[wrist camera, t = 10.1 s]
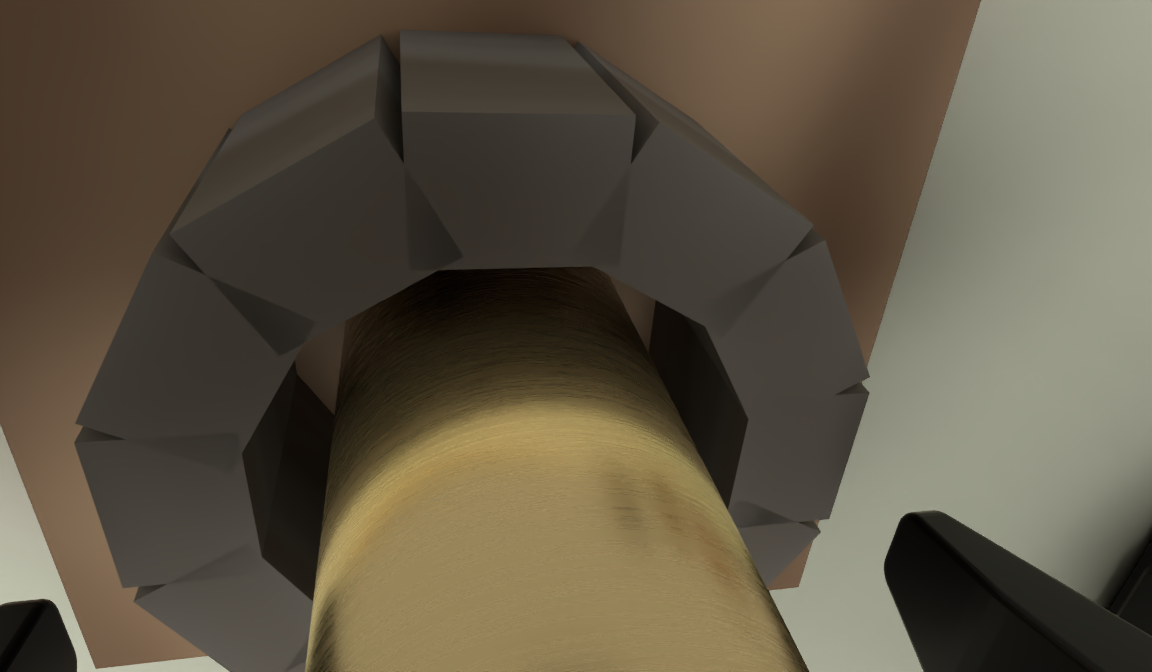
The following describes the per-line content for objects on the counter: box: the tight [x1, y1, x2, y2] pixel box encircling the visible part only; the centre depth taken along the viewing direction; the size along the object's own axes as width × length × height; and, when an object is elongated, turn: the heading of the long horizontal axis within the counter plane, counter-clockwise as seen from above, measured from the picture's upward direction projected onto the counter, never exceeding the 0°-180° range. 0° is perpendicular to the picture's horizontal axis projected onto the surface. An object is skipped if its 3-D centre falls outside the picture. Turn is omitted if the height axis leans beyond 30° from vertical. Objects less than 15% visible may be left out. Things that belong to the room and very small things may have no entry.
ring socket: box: [0, 0, 981, 672], centre depth 12 cm, size 15×15×5 cm
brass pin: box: [305, 266, 809, 672], centre depth 9 cm, size 4×4×9 cm
